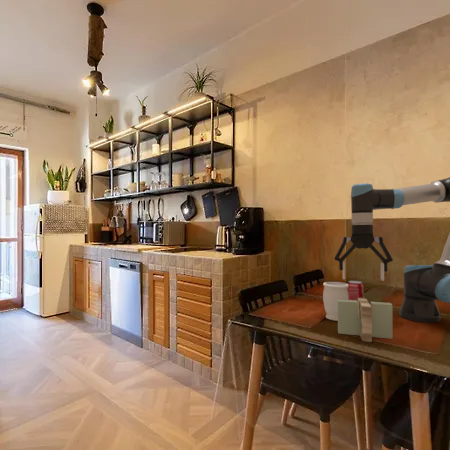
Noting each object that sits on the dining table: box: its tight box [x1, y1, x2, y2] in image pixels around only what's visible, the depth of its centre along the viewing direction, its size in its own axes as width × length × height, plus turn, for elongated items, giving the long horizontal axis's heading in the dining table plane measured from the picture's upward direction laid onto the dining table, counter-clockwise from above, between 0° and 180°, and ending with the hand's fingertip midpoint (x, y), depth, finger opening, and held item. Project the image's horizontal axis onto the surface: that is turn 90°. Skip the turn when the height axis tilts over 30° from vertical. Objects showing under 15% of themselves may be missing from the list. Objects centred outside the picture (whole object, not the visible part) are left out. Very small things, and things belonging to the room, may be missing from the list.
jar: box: [322, 281, 349, 322], centre depth 131 cm, size 11×10×15 cm
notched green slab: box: [337, 299, 393, 340], centre depth 111 cm, size 18×3×12 cm, turn 72°
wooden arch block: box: [357, 297, 373, 343], centre depth 111 cm, size 14×3×12 cm, turn 163°
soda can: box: [347, 280, 365, 301], centre depth 146 cm, size 7×7×13 cm
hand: (362, 279), depth 116 cm, fingers open, 13 cm apart
